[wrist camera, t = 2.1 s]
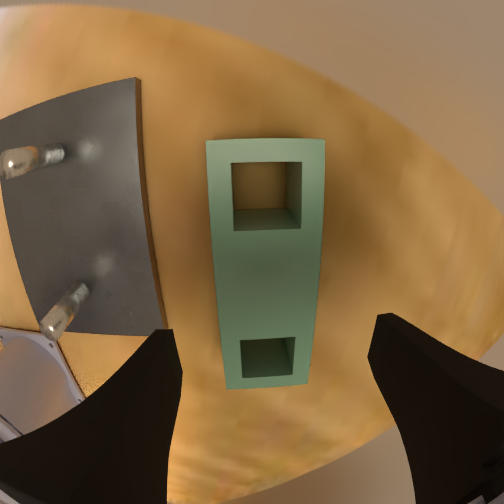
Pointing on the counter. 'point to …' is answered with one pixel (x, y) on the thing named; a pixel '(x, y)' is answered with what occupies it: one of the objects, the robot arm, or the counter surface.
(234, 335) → the green block with holes
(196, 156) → the counter surface
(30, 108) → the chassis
